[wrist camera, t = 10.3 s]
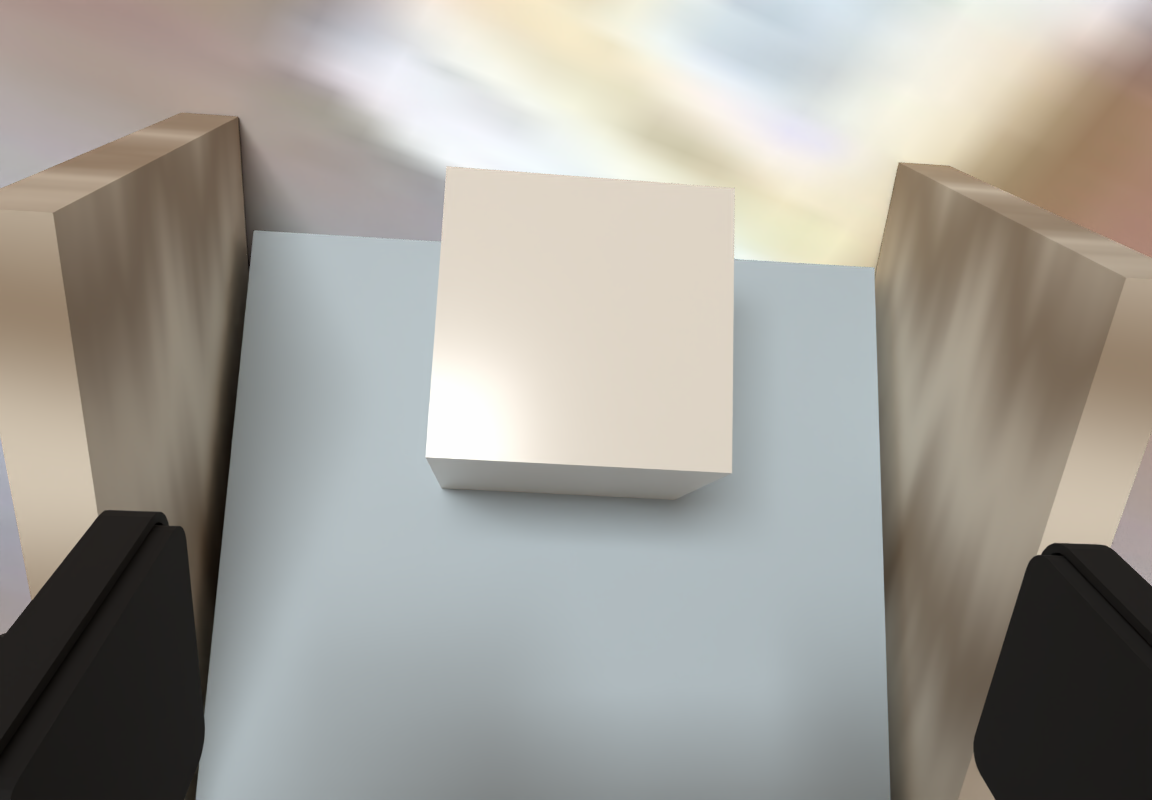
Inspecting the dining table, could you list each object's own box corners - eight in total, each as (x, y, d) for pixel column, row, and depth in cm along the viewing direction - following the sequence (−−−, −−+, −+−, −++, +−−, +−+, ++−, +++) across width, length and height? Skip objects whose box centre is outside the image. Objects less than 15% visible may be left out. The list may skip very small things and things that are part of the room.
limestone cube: (679, 278, 22) (734, 188, 17) (674, 500, 21) (731, 473, 16) (456, 263, 21) (446, 165, 16) (441, 488, 20) (425, 457, 15)
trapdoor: (875, 931, 20) (895, 949, 19) (196, 929, 19) (180, 948, 18) (858, 280, 23) (874, 267, 22) (264, 246, 22) (253, 230, 21)
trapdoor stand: (825, 699, 28) (949, 996, 20) (232, 685, 27) (106, 998, 19) (949, 165, 22) (1205, 282, 14) (181, 112, 21) (-43, 206, 12)
